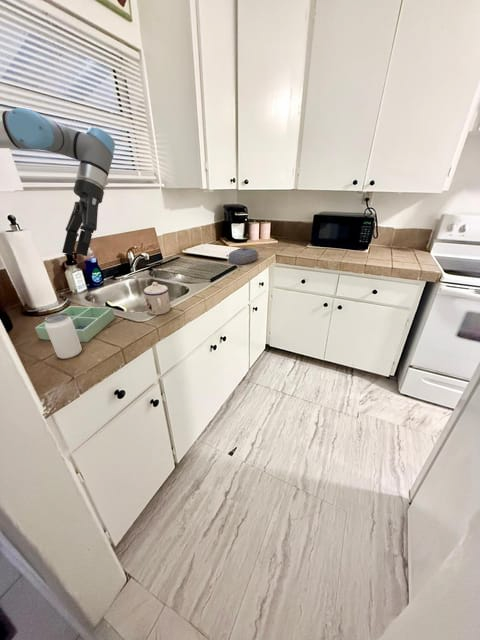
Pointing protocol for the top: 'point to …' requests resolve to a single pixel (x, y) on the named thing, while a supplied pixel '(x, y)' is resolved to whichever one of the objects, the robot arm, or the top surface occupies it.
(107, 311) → the tray with compartments
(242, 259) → the grey rounded bag
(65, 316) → the can
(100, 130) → the robot arm
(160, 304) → the teacup with lid
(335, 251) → the top surface
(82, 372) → the top surface
